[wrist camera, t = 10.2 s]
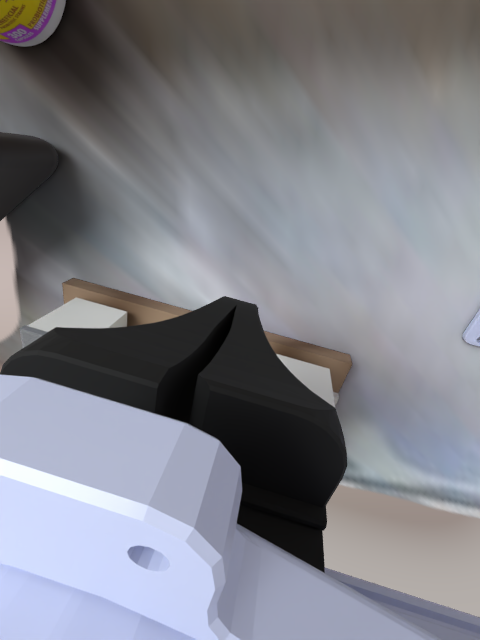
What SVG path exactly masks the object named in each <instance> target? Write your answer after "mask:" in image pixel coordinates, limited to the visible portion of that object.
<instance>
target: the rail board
mask: <svg viewBox="0 0 480 640" xmlns="http://www.w3.org/2000/svg"><path fill="white" fill-rule="evenodd" d="M62 284H63V297H64V304H66V303H67V302H69V301H71V300H73V299H74V298H76V297H77V298H80V299H84V300H87V301H91V302H94V303H98V304H101V305H105V306H108V307H112V308H116V309H119V310H123V311H126V312H127V327H128V326H136V325H142V324H149V323H155V322H160V321H164V320H168V319H171V318H175V317H178V316H181V315H184V314H186V313H189V312H191V311H190V310H187V309H183V308H179V307H176V306H172V305H169V304H165V303H161V302H158V301H154V300H151V299H147V298H143V297H140V296H136V295H133V294H129V293H125V292H122V291H118V290H115V289H111V288H107V287H104V286H100V285H97V284H93V283H89V282H86V281H82V280H79V279H75V278H72V279H70V280H68V281H66V282H64V283H62ZM264 333H265V335H266V337H267V339H268V341H269V343H270V345H271V347H272V349H273V350H274V352H275V353H276V354H279V355H282V356H286V357H289V358H293V359H297V360H300V361H304V362H307V363H311V364H314V365H318V366H321V367H325V368H328V369H330V375H331V382H332V389H333V396H334V403H335V406H336V404H337V402H338V400H339V395H338V392H339V390H340V388H341V386H342V384H343V382H344V380H345V378H346V376H347V374H348V372H349V370H350V368H351V366H352V361H351V357H350V355H348V354H345V353H341V352H338V351H334V350H330V349H327V348H323V347H320V346H316V345H312V344H309V343H305V342H302V341H298V340H294V339H291V338H287V337H284V336H280V335H276V334H273V333H269V332H266V331H264Z"/></svg>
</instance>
